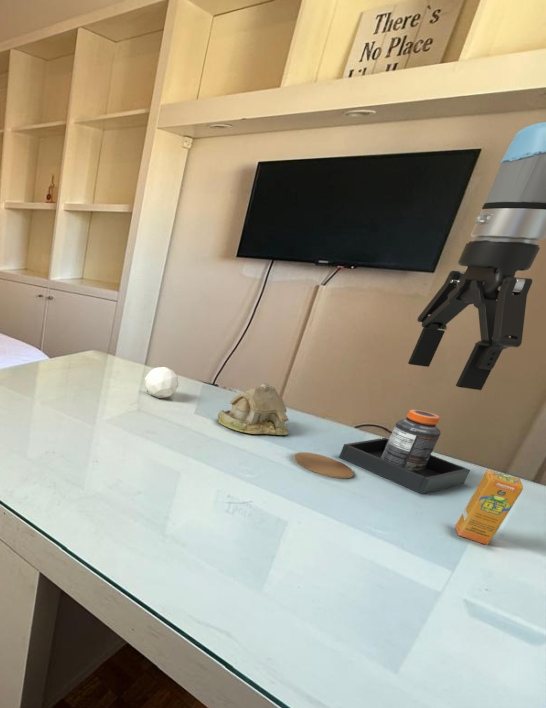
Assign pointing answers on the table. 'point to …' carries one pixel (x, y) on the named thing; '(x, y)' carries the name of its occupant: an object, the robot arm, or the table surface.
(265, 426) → the ceramic model
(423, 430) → the pill bottle
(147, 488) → the table surface
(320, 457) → the coaster
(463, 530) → the supplement box
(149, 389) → the geometric ball
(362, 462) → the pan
